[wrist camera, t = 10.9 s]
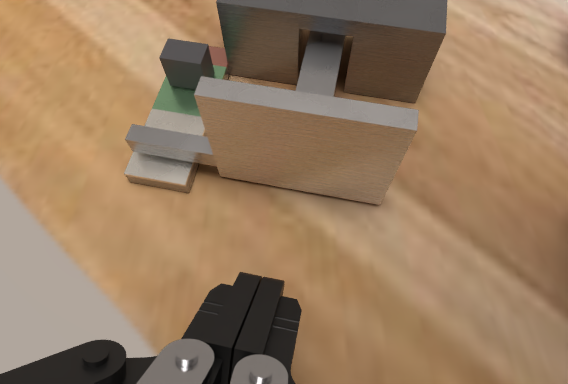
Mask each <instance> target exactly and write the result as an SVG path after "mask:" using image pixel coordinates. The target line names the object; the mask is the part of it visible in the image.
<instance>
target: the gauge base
mask: <svg viewBox="0 0 568 384" xmlns="http://www.w3.org/2000/svg"><path fill="white" fill-rule="evenodd" d="M216 3H217V9H218V14H219V19H220V25H221V30H222V36H223V41H224V46H225V48H218V47H211V46H209V50H210V55H211V59H212V63H213V68H214V72H215V74H214V76H213V78H216V79H222V80H228V78H229V75H236V76H242V77H249V78H255V79H262V80H268V81H275V82H281V83H288V84H294V85H297V83H298V79H299V75H300V71H301V67H302V63H303V58H304V54H305V50H306V46H307V42H308V38H309V34H310V30H311V31H318V32H325V33H332V34H339V35H346V36H353V42H352V47H351V53H350V58H349V64H348V70H347V75H346V81H345V87H344V92H346V93H353V94H359V95H366V96H372V97H379V98H385V99H391V100H398V101H404V102H411V103H415V102H416V100H417V97H418V95H419V93H420V90H421V88H422V86H423V84H424V81H425V79H426V77H427V75H428V72H429V70H430V68H431V66H432V63H433V61H434V59H435V57H436V54H437V52H438V50H439V48H440V45H441V43H442V41H443V39H444V36H445V34H446V17H447V0H217V2H216ZM195 91H196V90H195V89H189V88H182V87H176V86H170V84H169V81H168V79H167V76H166V77H165V80H164V82H163V84H162V87H161V89H160V91H159V94H158V96H157V98H156V100H155V103H154V105H153V107H152V110H151V112H150V114H149V117H148V119H147V121H146V124H145V126H146V127H152V128H158V129H164V130H170V131H176V132H182V133H187V134H193V135H199V136H205V137H207V134H206V131H205V128H204V125H203V121H202V118H201V115H200V112H199V109H198V106H197V103H196V100H195V96H194V93H195ZM198 166H199V163H195V162H189V161H183V160H178V159H172V158H166V157H161V156H155V155H149V154H144V153H138V152H133V154H132V156H131V158H130V161H129V163H128V165H127V168H126V170H125V172H124V174H125V176H126V177H127V178H128V180H129V181H130V182H132V183H138V184H143V185H149V186H154V187H159V188H165V189H170V190H176V191H181V192H186V193H189V192H190V189H191V186H192V183H193V180H194V177H195V174H196V171H197V169H198Z"/></svg>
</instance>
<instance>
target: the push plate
mask: <svg viewBox="0 0 568 384" xmlns="http://www.w3.org/2000/svg"><path fill="white" fill-rule="evenodd" d="M345 37H346V35H339V34H332V33H325V32H318V31H311V30H310V34H309V38H308V42H307V46H306V50H305V54H304V58H303V63H302V67H301V71H300V75H299V79H298V83H297V87H296V91H293V90H287V89H280V88H274V87H267V86H261V85H254V84H248V83H242V82H235V81H229V80H222V79H216V78H210V77H203V76H201V78H200V80H199V83H198V85H197V88H196V91H195V93H194V96H195V100H196V103H197V106H198V109H199V112H200V115H201V118H202V121H203V125H204V128H205V131H206V134H207V137H205V136H199V135H193V134H187V133H182V132H176V131H170V130H164V129H158V128H152V127H146V126H141V125H135V124H132V125H131V127H130V130H129V132H128V134H127V136H126V138H125V140H126V142H127V143H128V145H129V146H130V148H131V149H132V151H133V152H138V153H144V154H149V155H155V156H161V157H166V158H172V159H178V160H183V161H189V162H195V163H200V164H206V165H211V166H217V168H218V172H219V175H220V176H222V177H228V178H233V179H239V180H244V181H250V182H255V183H261V184H266V185H272V186H278V187H283V188H289V189H294V190H300V191H305V192H311V193H317V194H322V195H328V196H333V197H339V198H344V199H350V200H355V201H361V202H367V203H372V204H378V205H380V204H381V202H382V200H383V198H384V196H385V194H386V192H387V190H388V188H389V186H390V184H391V182H392V180H393V178H394V176H395V174H396V172H397V170H398V168H399V166H400V164H401V162H402V160H403V158H404V156H405V154H406V152H407V150H408V148H409V146H410V144H411V142H412V140H413V138H414V136H415V134H416V132H417V124H418V110H415V109H408V108H402V107H396V106H389V105H383V104H376V103H370V102H364V101H357V100H351V99H344V98H338V97H334V95H335V89H336V84H337V79H338V74H339V68H340V63H341V58H342V52H343V47H344V42H345Z"/></svg>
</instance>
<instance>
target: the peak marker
mask: <svg viewBox="0 0 568 384" xmlns="http://www.w3.org/2000/svg"><path fill="white" fill-rule="evenodd" d="M159 58H160V61H161V63H162V66H163V68H164V71H165V74H166V76H167V79H168V81H169V84H170V86H176V87H182V88H189V89H195V90H196V88H197V85H198V83H199V80H200V78H201V76H203V77H210V78H213V76H214V74H215V72H214V68H213V63H212V59H211V55H210V50H209V46H208V44H202V43H195V42H188V41H181V40H175V39H168V40H167V42H166V44H165V46H164V49H163V51H162V53H161V55H160V57H159Z"/></svg>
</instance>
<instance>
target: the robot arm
mask: <svg viewBox="0 0 568 384" xmlns="http://www.w3.org/2000/svg"><path fill="white" fill-rule="evenodd" d="M284 282H285V281H282V280H277V279H273V278H268V277H263V278H262V276H258V275H253V274H248V273H243V272H240V273H239V275H238V277H237V279H236V281H235V283H234V285H233V286H231V285H226V284H220V285H218V286H217V287H215V288H214V289H212V290H211V291H210V292H209V294H208V295H207V297H206V299H205V300H204V303H203V304H202V305H201V307H200V309H199V311H198V312H197V314H196V315H195V317H194V319H193V320H192V322H191V324H190V325H189V327H188V329H187V330H186V332H185V334H184V335H183V337H182V339H180V340H177V341H174V342H172V343H170V344H168V345H167V346H166V347H164V349H163V350H162V351H161V352H160V353H159V355H158V356H154V357H147V358H126V351H125V349H124V348H123V347H122V345H120V344H119V343H117V342H114V341H111V340H95V341H91V342H87V343H84V344H82V345H79V346H76V347H73V348H71V349H68V350H65V351H62V352H59V353H57V354H54V355H51V356H49V357H46V358H43V359H40V360H38V361H35V362H32V363H30V364H27V365H24V366H21V367H19V368H16V369H13V370H11V371H8V372H5V373H2V374H0V384H295V382H294V381H293V379H292V376H291V364H292V359H293V354H294V349H295V343H296V338H297V332H298V327H299V321H300V316H301V308H300V305H299V303H298V301H297V299H293V298H288V297H283V290H284Z"/></svg>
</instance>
